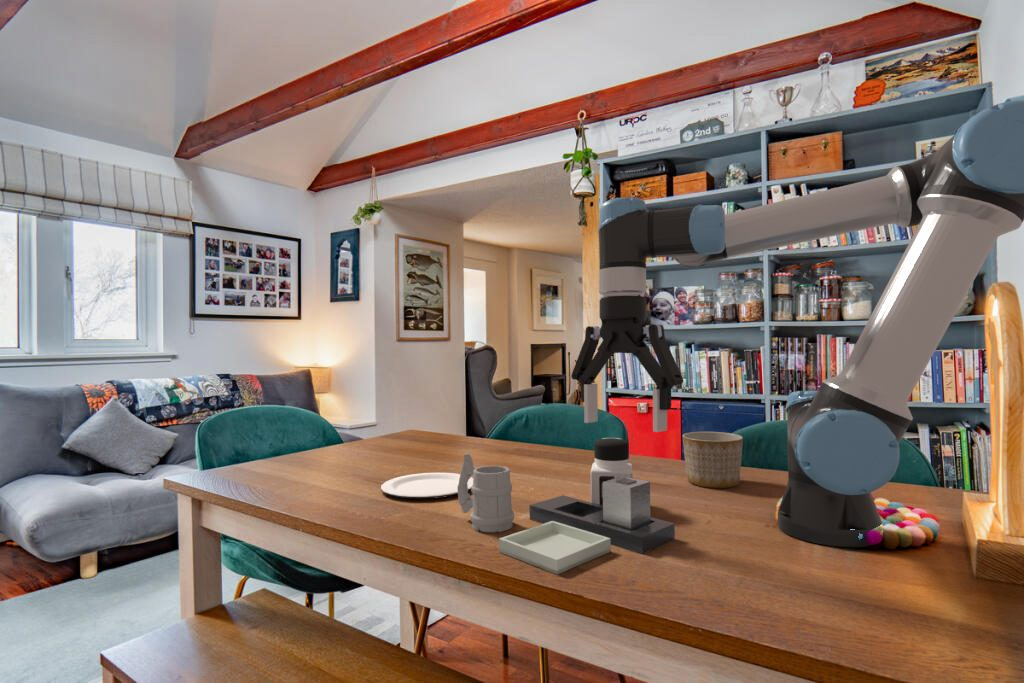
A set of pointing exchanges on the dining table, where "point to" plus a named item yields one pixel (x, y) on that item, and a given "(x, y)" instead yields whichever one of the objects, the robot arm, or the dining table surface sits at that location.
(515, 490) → the dining table surface
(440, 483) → the plate
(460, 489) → the mug
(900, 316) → the robot arm
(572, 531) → the tray
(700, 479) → the planter
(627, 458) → the container
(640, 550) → the peg socket board
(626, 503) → the tall square peg
